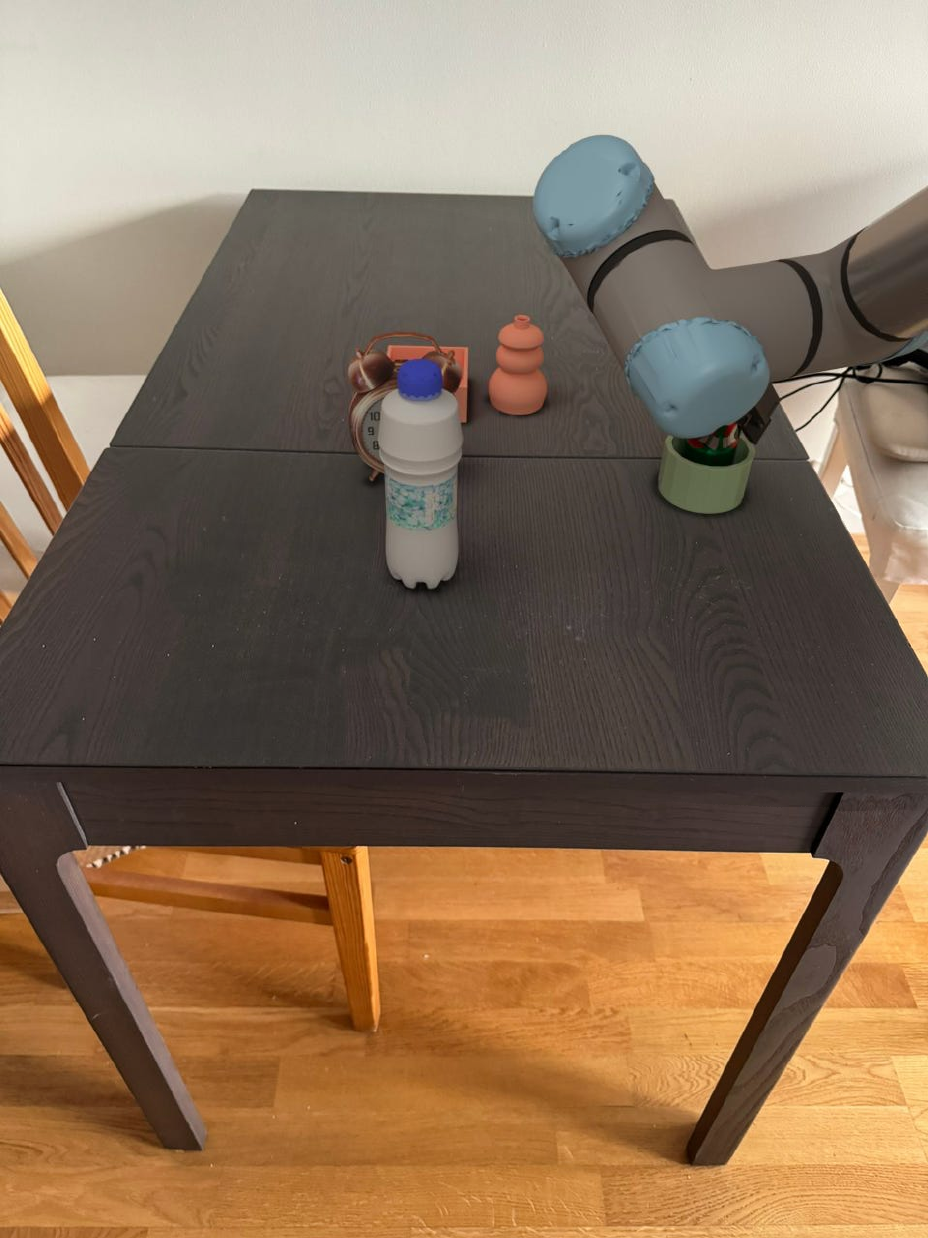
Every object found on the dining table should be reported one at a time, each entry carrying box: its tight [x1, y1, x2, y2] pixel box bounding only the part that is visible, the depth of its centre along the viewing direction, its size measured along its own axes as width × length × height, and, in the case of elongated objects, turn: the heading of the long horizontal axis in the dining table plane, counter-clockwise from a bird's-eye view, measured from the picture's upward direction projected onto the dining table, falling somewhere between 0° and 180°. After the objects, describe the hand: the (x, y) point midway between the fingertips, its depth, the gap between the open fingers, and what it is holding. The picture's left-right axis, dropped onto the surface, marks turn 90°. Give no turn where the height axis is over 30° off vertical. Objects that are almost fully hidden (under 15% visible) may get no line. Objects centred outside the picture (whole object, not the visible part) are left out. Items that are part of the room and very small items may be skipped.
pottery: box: [386, 314, 548, 423], centre depth 101 cm, size 18×10×10 cm, turn 89°
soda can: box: [680, 423, 742, 467], centre depth 87 cm, size 5×5×12 cm
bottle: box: [378, 359, 464, 590], centre depth 75 cm, size 7×7×20 cm
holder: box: [657, 433, 756, 515], centre depth 91 cm, size 8×8×5 cm
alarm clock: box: [347, 331, 462, 482], centre depth 89 cm, size 11×5×15 cm, turn 94°
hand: (734, 419), depth 90 cm, fingers closed on soda can, 5 cm apart
